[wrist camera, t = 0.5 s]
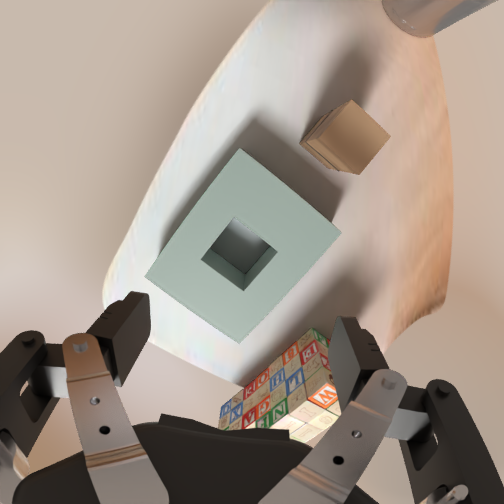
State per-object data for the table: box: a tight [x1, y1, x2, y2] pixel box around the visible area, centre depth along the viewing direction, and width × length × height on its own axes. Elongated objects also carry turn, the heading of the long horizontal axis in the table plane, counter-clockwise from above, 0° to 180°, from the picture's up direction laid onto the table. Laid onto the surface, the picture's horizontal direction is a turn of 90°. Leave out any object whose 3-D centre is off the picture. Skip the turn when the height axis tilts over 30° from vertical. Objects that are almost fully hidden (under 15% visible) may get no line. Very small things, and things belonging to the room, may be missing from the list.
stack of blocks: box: [218, 328, 341, 443], centre depth 39 cm, size 21×6×12 cm, turn 140°
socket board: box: [145, 148, 341, 344], centre depth 36 cm, size 18×14×5 cm
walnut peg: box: [299, 100, 391, 175], centre depth 28 cm, size 5×5×12 cm
